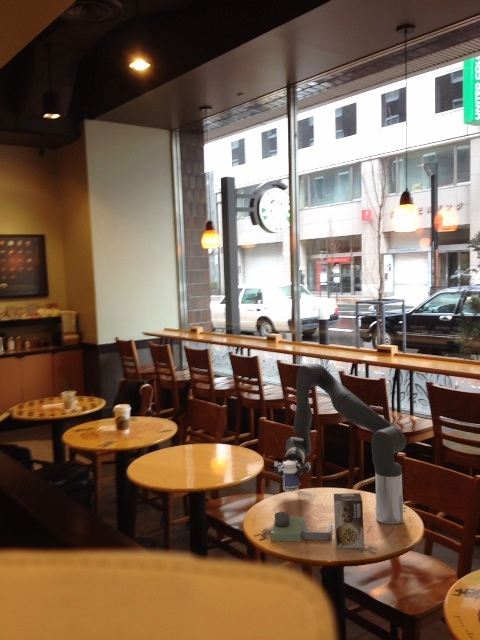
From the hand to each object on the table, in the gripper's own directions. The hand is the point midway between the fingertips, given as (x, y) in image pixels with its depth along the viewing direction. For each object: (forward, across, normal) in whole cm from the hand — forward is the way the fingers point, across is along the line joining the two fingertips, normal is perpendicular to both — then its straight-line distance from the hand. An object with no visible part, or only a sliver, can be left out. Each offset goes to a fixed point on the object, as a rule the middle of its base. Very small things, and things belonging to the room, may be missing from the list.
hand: (289, 474), depth 210 cm
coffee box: (+16, +21, +18) cm, 32 cm away
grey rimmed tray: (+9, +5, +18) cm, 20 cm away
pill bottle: (-2, 0, +7) cm, 7 cm away
